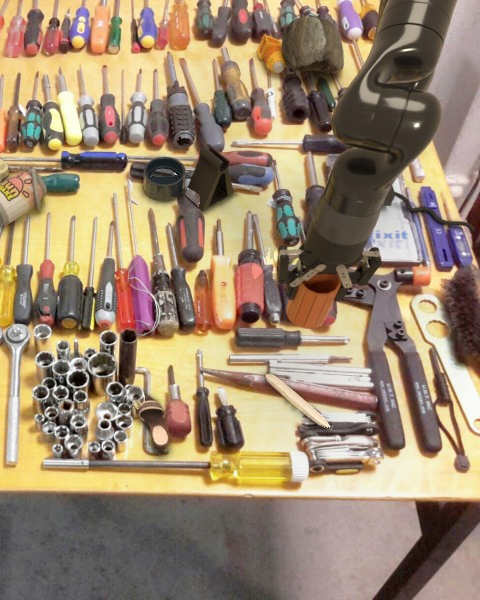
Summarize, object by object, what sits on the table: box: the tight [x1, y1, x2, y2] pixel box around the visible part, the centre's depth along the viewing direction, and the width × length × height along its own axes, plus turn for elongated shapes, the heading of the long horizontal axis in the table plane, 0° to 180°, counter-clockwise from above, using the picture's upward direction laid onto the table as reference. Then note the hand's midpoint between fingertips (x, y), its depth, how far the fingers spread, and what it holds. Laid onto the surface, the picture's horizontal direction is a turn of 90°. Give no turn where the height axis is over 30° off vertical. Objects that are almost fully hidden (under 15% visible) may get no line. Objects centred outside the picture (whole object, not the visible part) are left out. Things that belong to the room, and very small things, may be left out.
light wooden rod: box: [264, 373, 331, 429], centre depth 108 cm, size 2×14×2 cm, turn 39°
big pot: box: [142, 156, 187, 202], centre depth 138 cm, size 9×9×5 cm
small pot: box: [285, 273, 342, 330], centre depth 95 cm, size 6×6×9 cm
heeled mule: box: [136, 393, 170, 453], centre depth 106 cm, size 4×11×4 cm, turn 13°
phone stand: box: [186, 143, 235, 212], centre depth 133 cm, size 9×6×12 cm, turn 123°
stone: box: [281, 14, 345, 74], centre depth 155 cm, size 12×15×15 cm
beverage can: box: [0, 167, 48, 226], centre depth 136 cm, size 9×8×12 cm
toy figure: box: [256, 34, 287, 74], centre depth 160 cm, size 5×6×12 cm
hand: (312, 295), depth 95 cm, fingers closed on small pot, 6 cm apart
